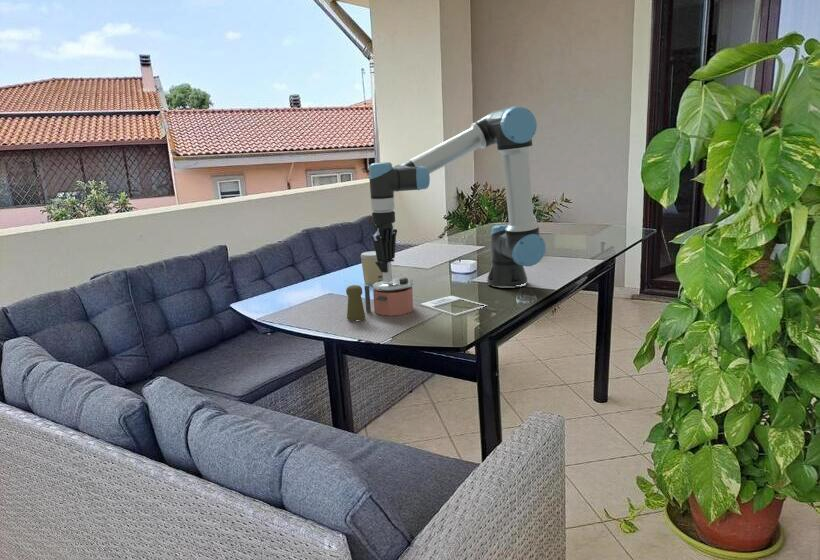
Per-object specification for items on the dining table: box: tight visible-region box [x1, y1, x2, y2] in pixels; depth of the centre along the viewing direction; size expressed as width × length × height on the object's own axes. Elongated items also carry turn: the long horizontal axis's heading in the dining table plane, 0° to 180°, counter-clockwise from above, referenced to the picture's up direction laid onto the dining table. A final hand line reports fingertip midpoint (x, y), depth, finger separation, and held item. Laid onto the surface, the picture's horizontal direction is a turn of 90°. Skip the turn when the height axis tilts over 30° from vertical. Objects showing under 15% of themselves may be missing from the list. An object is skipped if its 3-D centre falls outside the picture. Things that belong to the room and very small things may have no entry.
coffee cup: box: [360, 250, 383, 286], centre depth 231 cm, size 9×9×12 cm
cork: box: [345, 284, 366, 322], centre depth 185 cm, size 6×6×11 cm
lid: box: [372, 277, 414, 291], centre depth 191 cm, size 14×14×2 cm
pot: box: [364, 279, 414, 317], centre depth 193 cm, size 14×16×9 cm
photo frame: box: [419, 295, 488, 317], centre depth 195 cm, size 15×1×18 cm
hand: (387, 281), depth 192 cm, fingers closed
